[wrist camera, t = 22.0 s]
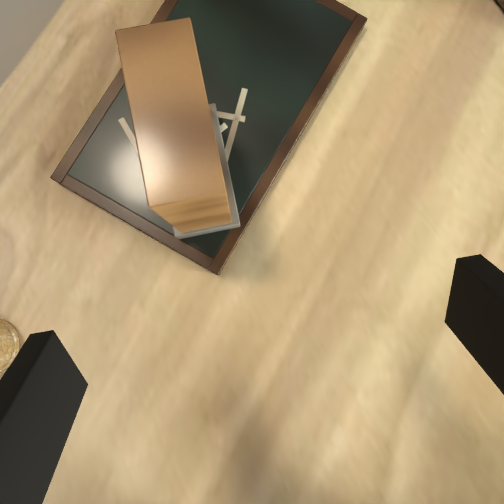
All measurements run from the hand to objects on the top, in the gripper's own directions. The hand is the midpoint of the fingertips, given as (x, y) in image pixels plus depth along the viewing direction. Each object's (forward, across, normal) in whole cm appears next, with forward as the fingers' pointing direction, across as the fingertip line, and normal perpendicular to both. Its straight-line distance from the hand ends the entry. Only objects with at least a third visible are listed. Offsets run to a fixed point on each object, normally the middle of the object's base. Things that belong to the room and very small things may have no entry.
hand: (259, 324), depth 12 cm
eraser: (+20, -3, -1) cm, 20 cm away
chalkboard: (+24, -1, +4) cm, 25 cm away
